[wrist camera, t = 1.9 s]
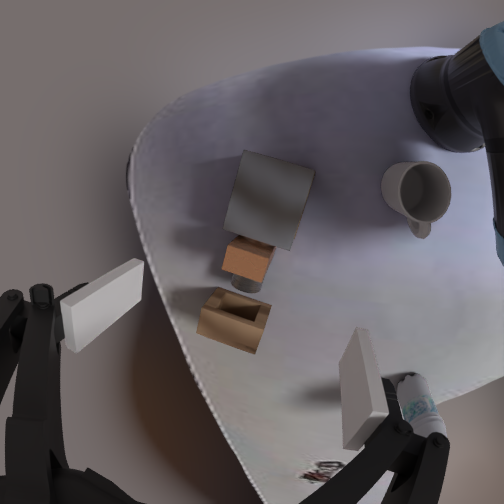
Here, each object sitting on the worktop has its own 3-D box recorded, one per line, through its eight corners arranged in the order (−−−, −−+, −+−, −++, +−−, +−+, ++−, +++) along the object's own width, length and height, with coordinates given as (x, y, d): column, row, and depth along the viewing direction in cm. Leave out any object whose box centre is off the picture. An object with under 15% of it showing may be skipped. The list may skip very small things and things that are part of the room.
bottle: (415, 396, 45) (437, 474, 26) (388, 393, 46) (404, 476, 27) (431, 371, 43) (463, 449, 24) (403, 367, 44) (430, 452, 25)
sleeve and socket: (254, 152, 39) (241, 149, 32) (315, 171, 38) (316, 171, 31) (212, 309, 48) (196, 332, 41) (263, 327, 47) (254, 354, 40)
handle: (267, 156, 38) (253, 151, 29) (300, 166, 38) (297, 164, 28) (233, 274, 44) (213, 302, 35) (264, 284, 43) (250, 315, 34)
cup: (419, 159, 35) (445, 157, 26) (430, 226, 37) (456, 240, 29) (375, 166, 37) (392, 165, 28) (387, 234, 39) (405, 251, 30)
